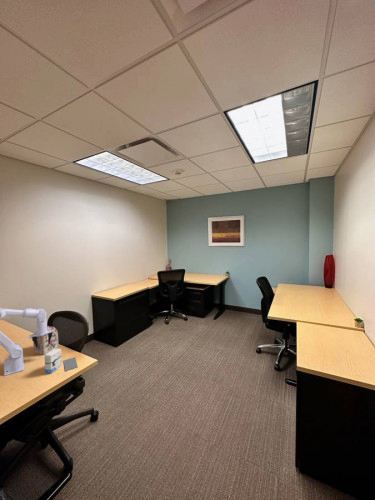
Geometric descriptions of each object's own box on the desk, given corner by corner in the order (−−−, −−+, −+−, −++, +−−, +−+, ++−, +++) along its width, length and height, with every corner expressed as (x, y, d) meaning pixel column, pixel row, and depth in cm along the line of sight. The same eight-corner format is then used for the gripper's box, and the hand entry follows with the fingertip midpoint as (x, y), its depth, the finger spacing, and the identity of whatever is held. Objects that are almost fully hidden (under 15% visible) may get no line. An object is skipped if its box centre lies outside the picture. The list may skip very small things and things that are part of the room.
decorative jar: (43, 355, 147) (42, 331, 147) (33, 352, 151) (32, 329, 151) (59, 347, 159) (58, 324, 158) (48, 344, 163) (47, 322, 162)
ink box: (51, 374, 126) (50, 355, 126) (44, 373, 127) (44, 355, 127) (62, 365, 135) (61, 348, 134) (56, 364, 136) (55, 347, 135)
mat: (65, 371, 129) (65, 370, 129) (63, 360, 140) (63, 360, 140) (77, 367, 133) (77, 366, 133) (75, 357, 144) (75, 356, 144)
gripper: (28, 331, 133) (29, 351, 134) (54, 325, 142) (55, 344, 142) (29, 327, 139) (30, 346, 140) (54, 322, 147) (55, 340, 148)
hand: (43, 345), depth 141 cm, fingers open, 6 cm apart
